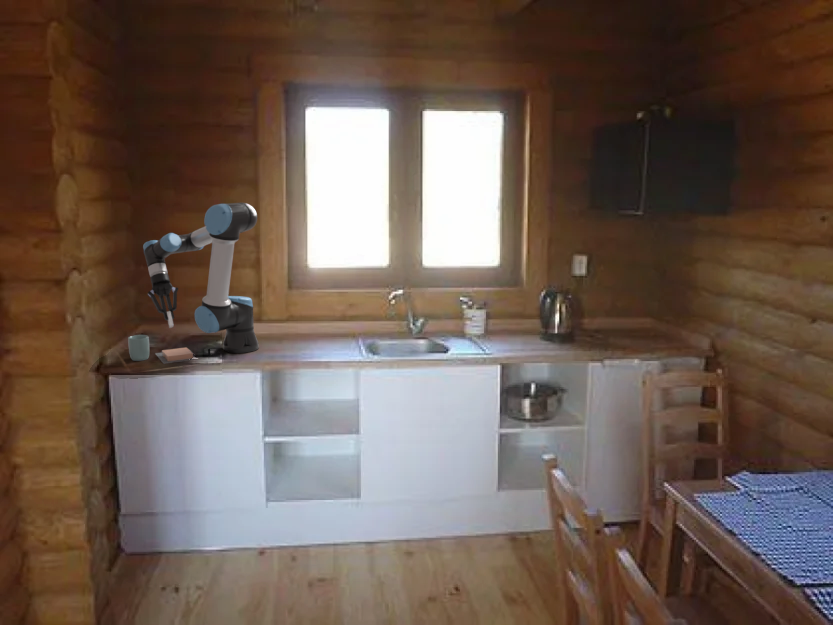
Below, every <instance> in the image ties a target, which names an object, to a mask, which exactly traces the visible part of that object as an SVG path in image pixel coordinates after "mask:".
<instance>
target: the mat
mask: <svg viewBox="0 0 833 625" xmlns="http://www.w3.org/2000/svg"><path fill="white" fill-rule="evenodd" d="M154 354H155V355H156V357H157V358H158V359H159V360H160V361H161V363H163V364H164V365H165V364H170V363H171V364H172V363H178V362H179V363H180V362H188V361H190V360H189V359H185V360H177V361H167V360H166V359H165V357H164V356H163V355H162V352H155V353H154Z"/></svg>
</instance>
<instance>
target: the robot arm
mask: <svg viewBox="0 0 833 625" xmlns="http://www.w3.org/2000/svg"><path fill="white" fill-rule="evenodd" d="M204 215H205V216H204V220H203V222H204V226H202V227H201V228H198V229H196V230H194V231H192V232H189V233H186V234H179V235H178V234H176V233H174V232H169V233H167V234H164V235H163V236H162V237H161V238H159V240H156V239H153V240H149V241H146V242H144V244H143V246H142V248H143V254H144V258H145V261H146V265H147V268H148V274H149V277H150V283H151V287H152V288H151V290H150V291H148V293H147V296H148V297H149V298H150V300H151V301H152V303H153V305H154V307H155V309H156V310H157V312H158V313H159V314H163V318H164V320H165V321H167V324H168V328H169V329H171V328H174V326H175V325H174V319H175V314H174V311H176V310H177V302H178V301H177V300H178V299H177V298H178V291H179V287H174V286H173V285H172V283H171V280H170V276H169V274H168V269H167V265H166V261H165V260H166V259H167V257H169V256H170V255H173V254H181V253H186V252H196V251H200V250H202V249H204V247H205V246H207V245H210V244H211V253H210V260H209V270H208V271H209V272H208V278H207V279H208V281H207V288H206V295H204V296H203V297H202V300H201V305H200V306H198V307H197V308H196V309H195V310H194V320H195V323H196V325H197V327H198V328H199V330H201V331H202V332H204V333H206V334H212V333H213V334H214V333H215V334H216V333H218V332H221V331H224V330H225V336H224V339H223V343H222V349H223V351H225V352H226V353H230V354H232V353H233V354H243V353H250V352H254V351H256V350H258V349H259V348H260V347H259V341H258V339H257V336H256V333H255V329H254V327H255V326H254V324H255V322H254V305H253V299H252V298H251V297H249V296H239V295H229V293H230V283H231V275H232V268H233V260H234V251H235V243H236V242H238V241H239V240H240V234H241V233H245V232H247V231H250V230H252V229H253V228H255V226H256V225H257V222H258V214H257V211H256V209H255V208H254V206H252V205H251V204H249V203H247V202H234V203H233V202H232V203H218V204H213V205H211V206H210V207H209V208H208V209H207V210H206V212H205V214H204ZM171 291H172V293H173V294H172V301H171V297H170V293H171ZM156 296H158V299H157V297H156ZM164 298H165V299H164ZM158 300H159V301H158ZM165 301H166V302H165ZM166 303H167V307H166ZM167 308H168V311H167Z"/></svg>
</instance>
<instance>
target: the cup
mask: <svg viewBox="0 0 833 625" xmlns="http://www.w3.org/2000/svg"><path fill="white" fill-rule="evenodd" d="M149 338H150V337H149V336H148V334H147V335H146V334H135V335H131V336H128V337H127V342H128V343H127V344H128V353H129V356H130V359H131V360H132V361H133V362H140V361H146V360H148V359H149V357H150V339H149Z"/></svg>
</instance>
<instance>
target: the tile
mask: <svg viewBox="0 0 833 625" xmlns="http://www.w3.org/2000/svg"><path fill="white" fill-rule="evenodd" d="M161 353H162V355H163V356H164V357H165V359H166V360H167V361H177V360H185V359H192V358H193V354H194V353H193V351H192V350H190V349H189V348H188V347H179V348H170V349H163V350H161Z"/></svg>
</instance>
